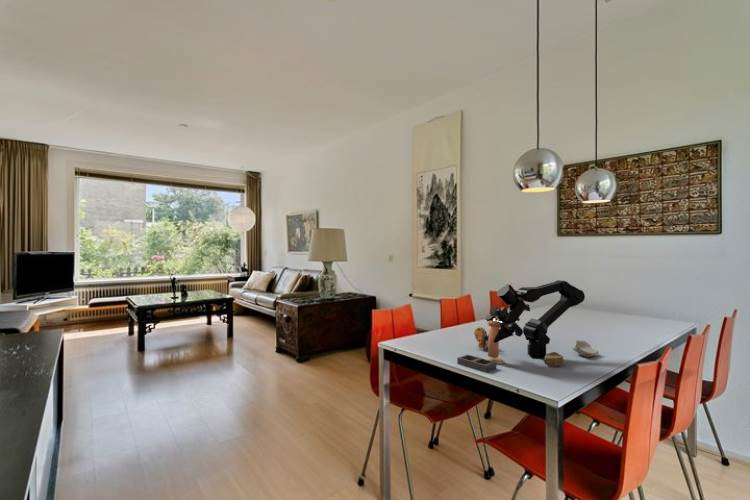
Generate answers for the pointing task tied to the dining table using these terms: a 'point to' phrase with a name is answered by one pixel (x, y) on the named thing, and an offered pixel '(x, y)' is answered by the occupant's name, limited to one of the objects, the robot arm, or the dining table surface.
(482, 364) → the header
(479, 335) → the toy
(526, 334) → the robot arm
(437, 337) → the dining table surface
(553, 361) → the stone
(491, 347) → the plug
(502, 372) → the dining table surface
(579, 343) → the pottery shard
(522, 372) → the dining table surface
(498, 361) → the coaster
